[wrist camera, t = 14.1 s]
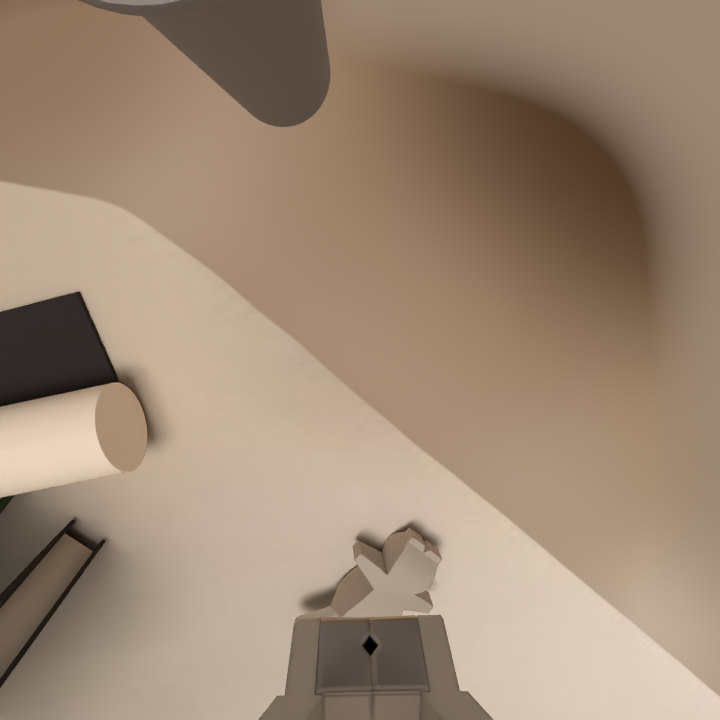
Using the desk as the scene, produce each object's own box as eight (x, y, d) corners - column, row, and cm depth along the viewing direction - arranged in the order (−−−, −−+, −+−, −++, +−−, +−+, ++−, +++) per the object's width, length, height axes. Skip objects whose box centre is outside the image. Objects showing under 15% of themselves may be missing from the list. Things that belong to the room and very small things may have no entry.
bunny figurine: (468, 587, 44) (359, 696, 45) (452, 552, 48) (354, 652, 50) (393, 530, 41) (281, 646, 43) (384, 500, 46) (284, 605, 48)
